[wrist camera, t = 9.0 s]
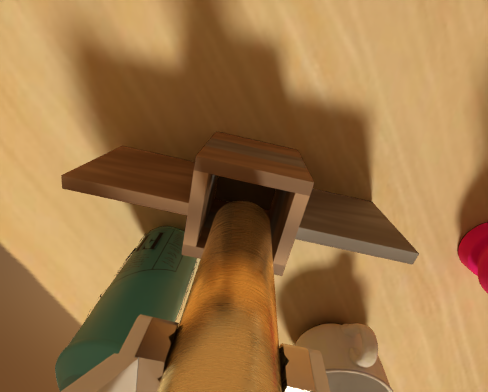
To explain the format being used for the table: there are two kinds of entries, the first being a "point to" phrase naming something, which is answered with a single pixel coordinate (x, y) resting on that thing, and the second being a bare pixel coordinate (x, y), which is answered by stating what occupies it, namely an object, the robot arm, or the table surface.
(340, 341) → the teacup
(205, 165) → the brown winged open box
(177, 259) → the beverage bottle
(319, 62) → the table surface
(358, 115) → the table surface
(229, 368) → the brass pin
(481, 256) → the pepper mill
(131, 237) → the table surface
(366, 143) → the table surface
